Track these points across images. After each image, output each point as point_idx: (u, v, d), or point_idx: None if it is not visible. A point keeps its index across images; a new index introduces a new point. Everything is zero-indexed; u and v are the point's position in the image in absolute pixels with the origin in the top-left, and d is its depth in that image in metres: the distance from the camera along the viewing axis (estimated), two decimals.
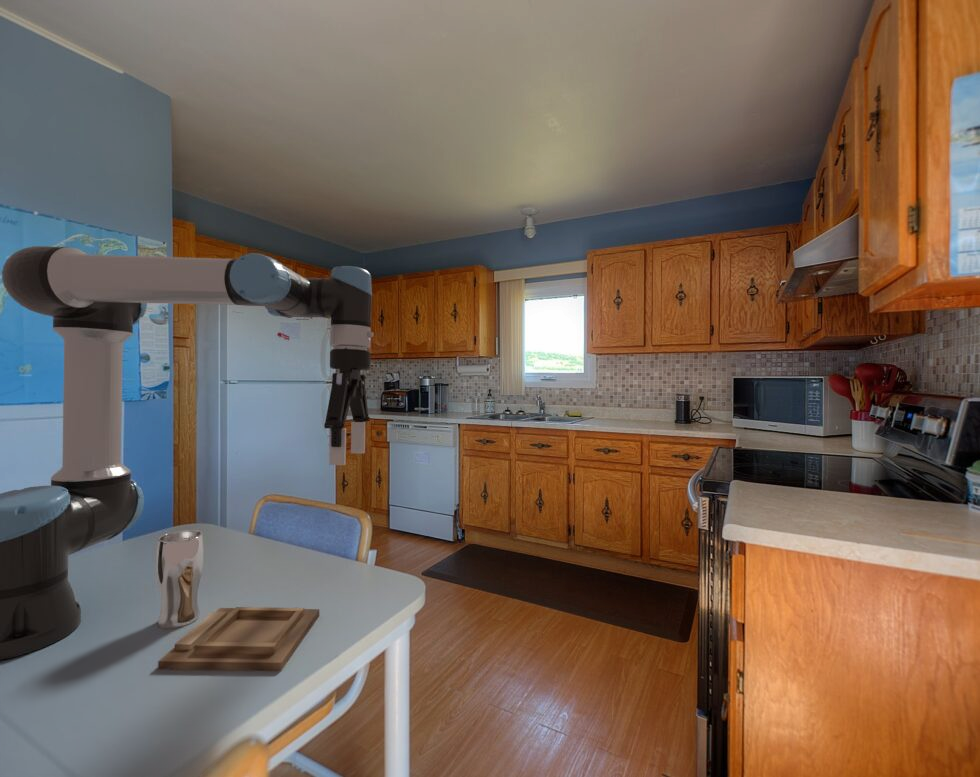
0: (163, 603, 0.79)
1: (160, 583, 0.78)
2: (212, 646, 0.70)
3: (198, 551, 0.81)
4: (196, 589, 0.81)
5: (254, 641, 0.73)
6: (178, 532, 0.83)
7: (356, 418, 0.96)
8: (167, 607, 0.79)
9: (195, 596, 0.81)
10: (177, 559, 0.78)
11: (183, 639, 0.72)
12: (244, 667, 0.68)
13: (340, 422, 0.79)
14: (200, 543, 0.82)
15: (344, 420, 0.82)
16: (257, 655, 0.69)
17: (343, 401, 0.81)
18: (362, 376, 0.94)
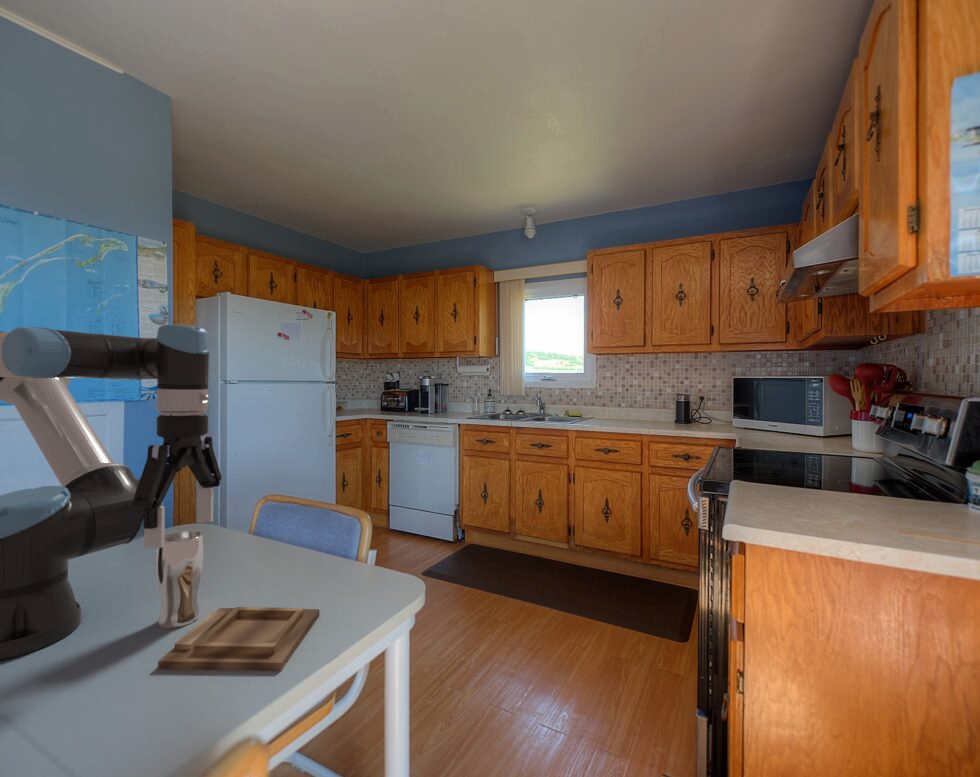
0: (163, 603, 0.79)
1: (160, 583, 0.78)
2: (212, 646, 0.70)
3: (198, 551, 0.81)
4: (196, 589, 0.81)
5: (254, 641, 0.73)
6: (178, 532, 0.83)
7: (203, 483, 0.88)
8: (167, 607, 0.79)
9: (195, 596, 0.81)
10: (177, 559, 0.78)
11: (183, 639, 0.72)
12: (244, 667, 0.68)
13: (149, 503, 0.71)
14: (200, 543, 0.82)
15: (161, 498, 0.74)
16: (257, 655, 0.69)
17: (157, 478, 0.73)
18: (207, 439, 0.87)
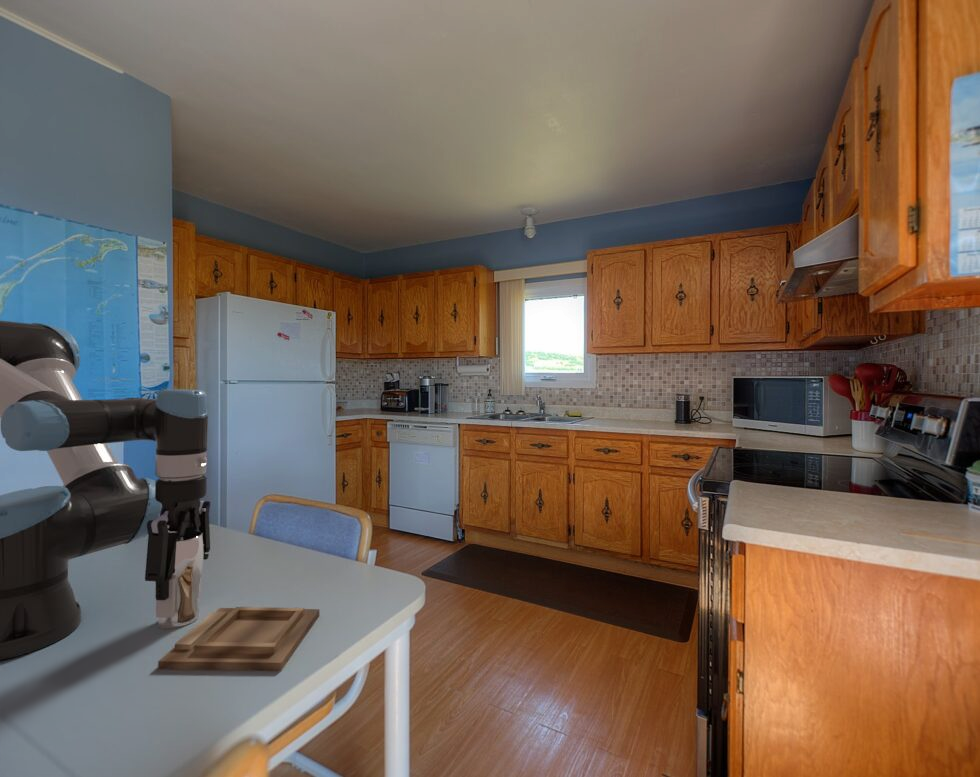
0: None
1: None
2: (212, 646, 0.70)
3: (198, 551, 0.81)
4: (196, 589, 0.81)
5: (254, 641, 0.73)
6: None
7: None
8: None
9: (195, 596, 0.81)
10: (177, 559, 0.78)
11: (183, 639, 0.72)
12: (244, 667, 0.68)
13: (161, 578, 0.75)
14: (200, 543, 0.82)
15: (170, 570, 0.77)
16: (257, 655, 0.69)
17: (163, 553, 0.75)
18: (205, 502, 0.87)
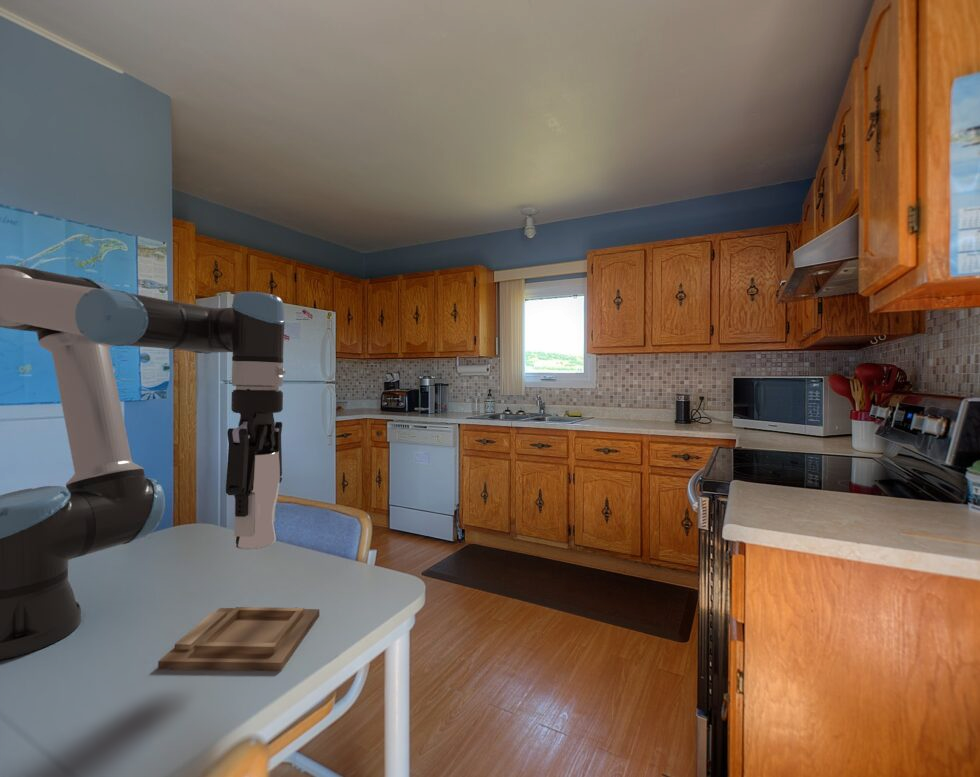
0: None
1: None
2: (212, 646, 0.70)
3: (276, 468, 0.75)
4: (273, 510, 0.76)
5: (254, 641, 0.73)
6: None
7: None
8: None
9: (272, 518, 0.76)
10: (256, 474, 0.72)
11: (183, 639, 0.72)
12: (244, 667, 0.68)
13: (243, 490, 0.69)
14: (277, 460, 0.76)
15: (250, 484, 0.71)
16: (257, 655, 0.69)
17: (244, 463, 0.69)
18: (278, 423, 0.81)
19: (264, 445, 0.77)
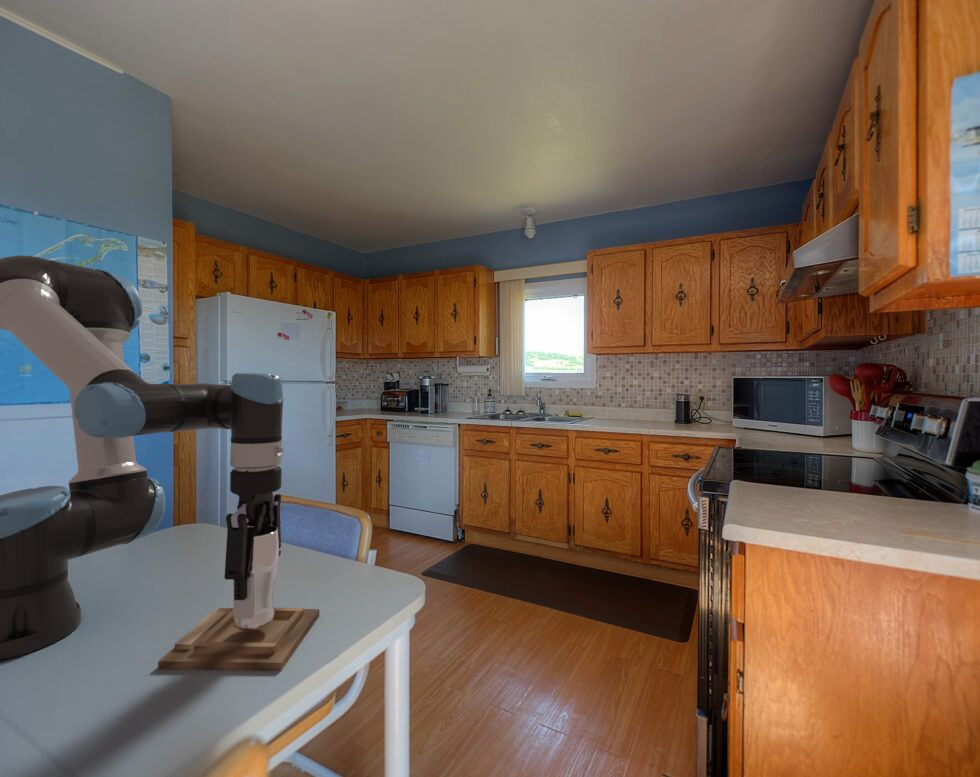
0: None
1: None
2: (212, 646, 0.70)
3: (275, 547, 0.75)
4: (272, 588, 0.76)
5: (254, 641, 0.73)
6: None
7: None
8: None
9: (271, 595, 0.76)
10: (255, 555, 0.72)
11: (183, 639, 0.72)
12: (244, 667, 0.68)
13: (242, 576, 0.69)
14: (276, 538, 0.76)
15: (249, 567, 0.71)
16: (257, 655, 0.69)
17: (243, 549, 0.69)
18: (277, 496, 0.81)
19: (263, 521, 0.77)
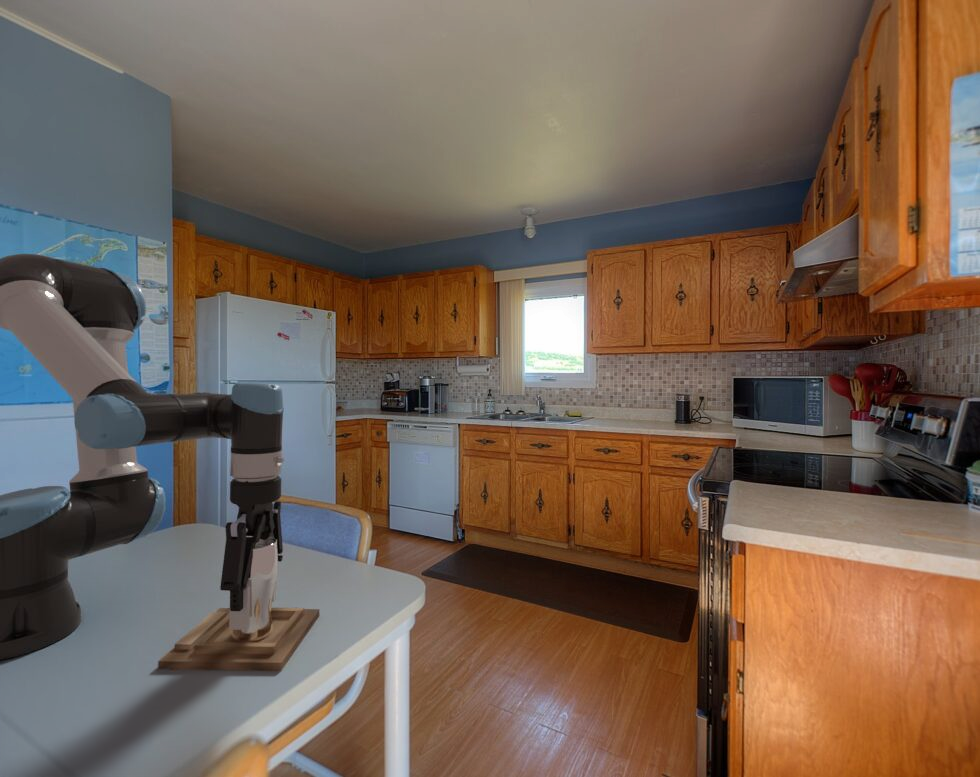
0: None
1: None
2: (212, 646, 0.70)
3: (274, 559, 0.75)
4: (271, 600, 0.76)
5: None
6: None
7: None
8: None
9: (270, 607, 0.76)
10: (254, 568, 0.72)
11: (183, 639, 0.72)
12: (244, 667, 0.68)
13: (238, 587, 0.68)
14: (275, 550, 0.76)
15: (246, 578, 0.70)
16: (257, 655, 0.69)
17: (241, 558, 0.69)
18: (277, 503, 0.81)
19: (263, 530, 0.78)
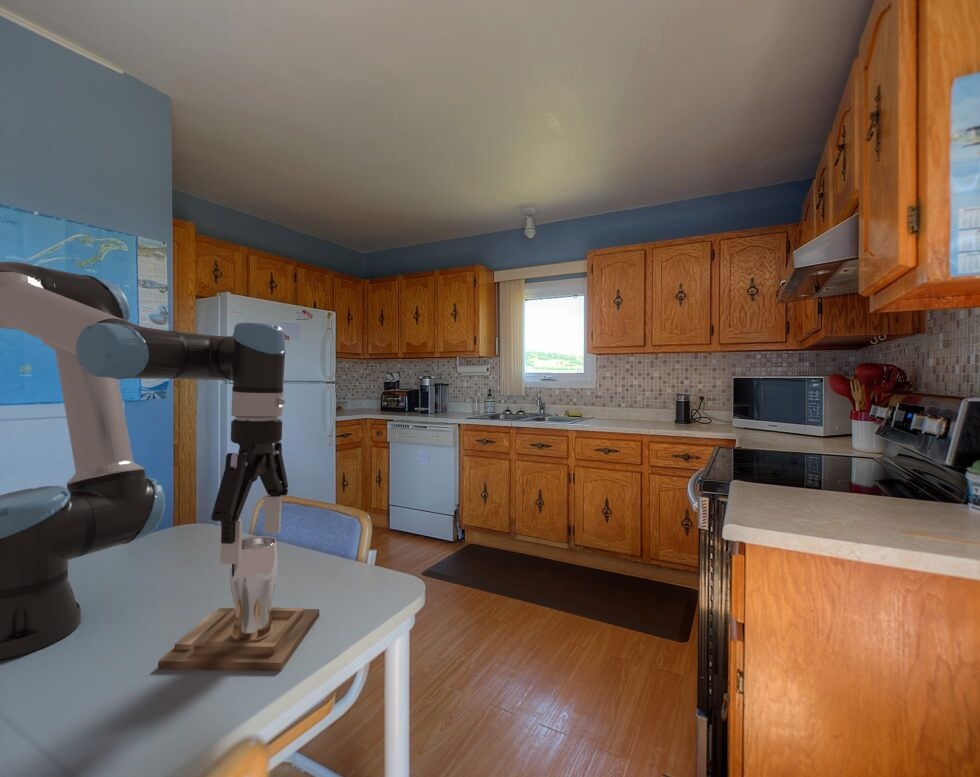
0: (238, 615, 0.73)
1: (235, 594, 0.72)
2: (212, 646, 0.70)
3: (273, 559, 0.75)
4: (271, 600, 0.76)
5: None
6: (250, 538, 0.78)
7: (271, 492, 0.83)
8: (242, 620, 0.73)
9: (270, 608, 0.76)
10: (253, 568, 0.72)
11: (183, 639, 0.72)
12: (244, 667, 0.68)
13: (230, 517, 0.66)
14: (275, 550, 0.76)
15: (239, 510, 0.68)
16: (257, 655, 0.69)
17: (237, 489, 0.67)
18: (277, 444, 0.81)
19: (266, 470, 0.78)
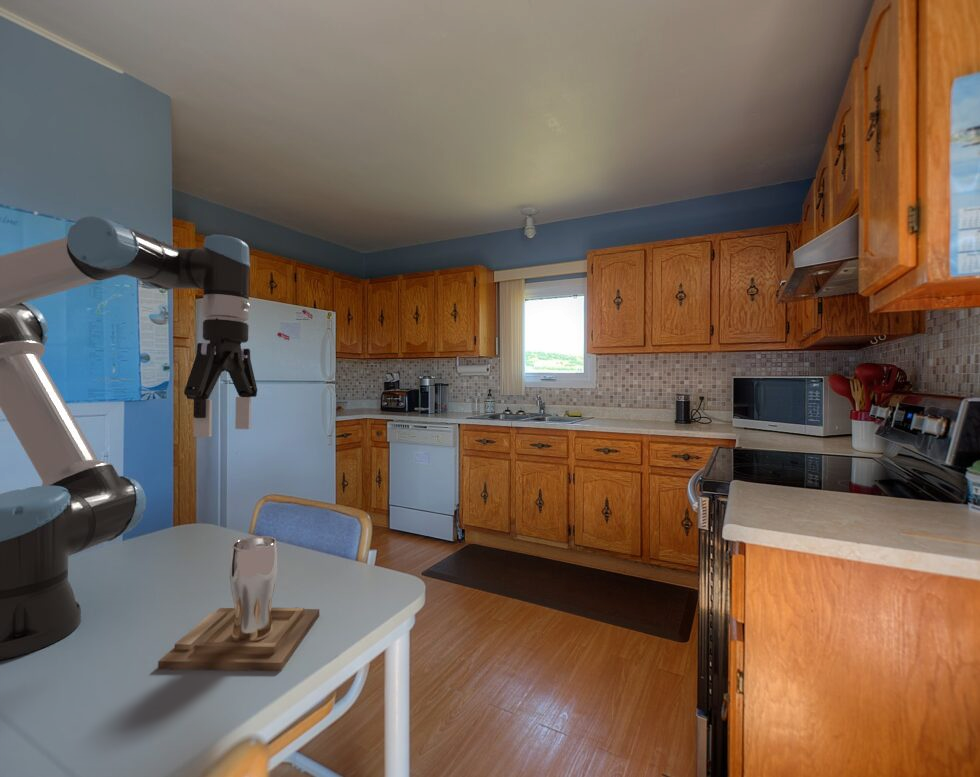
0: (238, 615, 0.73)
1: (235, 594, 0.72)
2: (212, 646, 0.70)
3: (273, 559, 0.75)
4: (271, 600, 0.76)
5: None
6: (250, 538, 0.78)
7: (241, 393, 0.94)
8: (242, 620, 0.73)
9: (270, 608, 0.76)
10: (253, 568, 0.72)
11: (183, 639, 0.72)
12: (244, 667, 0.68)
13: (200, 392, 0.77)
14: (275, 550, 0.76)
15: (209, 391, 0.80)
16: (257, 655, 0.69)
17: (206, 371, 0.79)
18: (246, 350, 0.93)
19: (235, 369, 0.90)
